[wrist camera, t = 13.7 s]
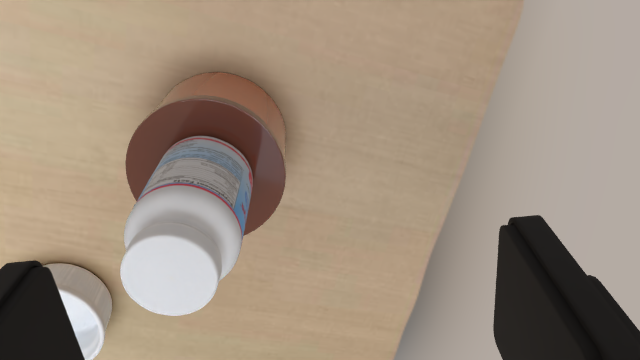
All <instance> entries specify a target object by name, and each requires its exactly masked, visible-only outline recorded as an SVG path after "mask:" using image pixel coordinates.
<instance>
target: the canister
mask: <svg viewBox="0 0 640 360" xmlns="http://www.w3.org/2000/svg"><path fill="white" fill-rule="evenodd" d="M194 136H208V137H213V138H217V139H220V140H222V141H224V142H227V143H229V144H230V145H232V146H233V147H235V148H236V149H237V150H238V151H240V152H241V153H242V155H243V156H244V157H245V158H246V160H247V161H248V163H249V166H250V168H251V171H252V177H253V187H252V193H251V198H250V203H249V209H248V214H247V219H246V224H245V230H244V234H243V236H244V235H246V234H248V233H250V232H252V231H254V230H255V229H257V228H258V227H260V226H261V225H262V224H263V223H264V222H266V221H267V220H268V219H269V218H270V216H271V215H272V214H273V213H274V211H275V210H276V208H277V206H278V205H279V203H280V200H281V198H282V195H283V191H284V187H285V178H286V165H285V159H284V155H285V143H286V130H285V125H284V121H283V118H282V115H281V113H280V111H279V109H278V107H277V106H276V104H275V103H274V101H273V100H272V99H271V97H270V96H269V95H268V94H267V93H266V92H265V91H264V90H263V89H261V88H260V87H259V86H257V85H256V84H254V83H253V82H251V81H249V80H247V79H245V78H242V77H240V76H237V75H233V74H229V73H220V72H211V73H204V74H199V75H196V76H192V77H190V78H188V79H186V80H184V81H182V82H181V83H179V84H178V85H176V86H175V87H174V88H173V89H172V90H171V91H170V92H169V93H168V94H167V95H166V97H165V98H164V99H163V101H162V102H161V103H160V104H159V106H158V107H157V108H156V109H155V110H154V111H153V112H151V113H150V114H149V115H148V116H147V117H146V118H145V119H144V120H143V121H142V123H141V124H140V125H139V126H138V128H137V129H136V131H135V133H134V134H133V136H132V138H131V141H130V143H129V146H128V150H127V154H126V174H127V179H128V183H129V186H130V189H131V192H132V193H133V195H134V197H135V199H136V201H137V200H138V199H139V197H140V195H141V193H142V192H143V190H144V188H145V186H146V185H147V183H148V181H149V179H150V177H151V176H152V174H153V173H154V171H155V169H156V168H157V166H158V164H159V163H160V161H161V159H162V158H163V156H164V155H165V153H166V152H167V151H168V150H169V149H170V148H171V147H172V146H173V145H174V144H176V143H177V142H179V141H181V140H183V139H186V138H189V137H194Z"/></svg>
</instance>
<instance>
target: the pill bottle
mask: <svg viewBox="0 0 640 360" xmlns="http://www.w3.org/2000/svg"><path fill="white" fill-rule="evenodd" d="M252 187H253V177H252V171H251V168H250V166H249V163H248V161H247V160H246V158H245V157H244V156H243V155H242V153H241V152H240V151H238V150H237V149H236V148H235V147H233V146H232V145H230V144H229V143H227V142H224V141H222V140H220V139H217V138H213V137H208V136H194V137H189V138H186V139H183V140H181V141H179V142H177V143H176V144H174V145H173V146H172V147H171V148H170V149H169V150H168V151H167V152H166V153H165V155H164V156H163V158H162V159H161V161H160V163H159V164H158V166H157V168H156V169H155V171H154V173H153V174H152V176H151V177H150V179H149V181H148V183H147V185H146V186H145V188H144V190H143V192H142V193H141V195H140V197H139V199H138V200H137V202H136V204H135V205H134V207H133V209H132V211H131V212H130V215H129V217H128V219H127V221H126V225H125V230H124V243H125V248H126V252H125V255H124V257H123V259H122V262H121V268H120V275H121V280H122V284H123V286H124V288H125V290H126V292H127V293H128V295H129V296H130V297H131V298H132V299H133V300H134V301H135V302H136V303H137V304H139V305H140V306H142V307H143V308H145V309H147V310H149V311H151V312H154V313H158V314H162V315H169V316H179V315H185V314H189V313H192V312H195V311H197V310H199V309H201V308H202V307H203V306H205V305H206V304H207V303H208V302H209V301H210V300H211V299H212V297H213V296H214V294H215V292H216V289H217V287H218V282H219V281H220V280H221V279H223V278H224V277H225V276H226V275H227V274H228V273H229V272H230V270H231V269H232V268H233V266H234V265H235V263H236V261H237V259H238V256H239V253H240V249H241V245H242V239H243V234H244V230H245V224H246V219H247V214H248V209H249V203H250V198H251V193H252Z"/></svg>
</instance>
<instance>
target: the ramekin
mask: <svg viewBox="0 0 640 360" xmlns="http://www.w3.org/2000/svg"><path fill="white" fill-rule="evenodd" d="M43 267H48V268H49V269H50V270H51V272H52V275H53V277H54V280H55V283H56V285H57V288H58V290H59V293H60V296H61V298H62V301H63V304H64V306H65V309H66V311H67V314H68V317H69V319H70V322H71V325H72V327H73V330H74V332H75V335H76V338H77V340H78V343H79V346H80V348H81V351H82V353H83V356H84V359H85V360H92V359H94V358H95V357H96V356H97V354H98V353H99V352H100V350H101V348H102V346H103V343H104V339H105V331H106V328H107V325H108V322H109V319H110V316H111V312H112V299H111V296H110V293H109V291H108V289H107V287H106V286H105V285H104V283H103V282H102V281H101V280H100V279H99V278H98V277H96V276H95V275H94V274H92V273H91V272H89V271H88V270H86V269H84V268H81V267H78V266H75V265H71V264H63V263H55V264H47V265H44V266H43Z"/></svg>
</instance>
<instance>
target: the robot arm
mask: <svg viewBox="0 0 640 360" xmlns="http://www.w3.org/2000/svg"><path fill="white" fill-rule="evenodd" d="M494 337H495V342H496V345H497V347H498V350H499V352H500V354H501V357H502V359H503V360H640V331H639V330H638V329H637V327H636V326H635V325H634V324H633V322H632V321H631V320H630V319H629V317H628V316H627V315H626V313H625V312H624V311H623V310H622V309H621V307H620V306H619V305H618V304H617V302H616V301H615V300H614V299H613V297H612V296H611V295H610V293H609V292H608V291H607V290H606V288H605V287H604V286H603V285H602V283H601V282H600V281H599V280H598V279H597V278H596V277H593V276H591V275H588V276H587V275H586V274H585V272H584V271H583V270H582V268H581V267H580V266H579V265H578V263H577V262H576V261H575V259H574V258H573V257H572V256H571V254H570V253H569V252H568V251H567V249H566V248H565V246H564V245H563V244H562V242H561V241H560V240H559V239H558V237H557V236H556V235H555V233H554V232H553V231H552V230H551V228H550V227H549V226H548V224H547V223H546V222H545V220H544V219H543V218H542V217H541V216H538V215H536V216H525V217H514V218H510V220H509V222H508V225H503V226H501V227H500V231H499V245H498V262H497V278H496V294H495V310H494ZM0 360H85V359H84V356H83V353H82V351H81V348H80V346H79V343H78V340H77V338H76V335H75V332H74V330H73V327H72V325H71V322H70V319H69V317H68V314H67V311H66V309H65V306H64V304H63V301H62V298H61V296H60V293H59V290H58V288H57V285H56V283H55V280H54V277H53V275H52V272H51V270H50V269H49V268H48V267H43V266H42V264H41V263H40V262H38V261H25V262H14V263H7V264H6V265H4V266H3V267H2V268H1V269H0Z"/></svg>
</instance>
